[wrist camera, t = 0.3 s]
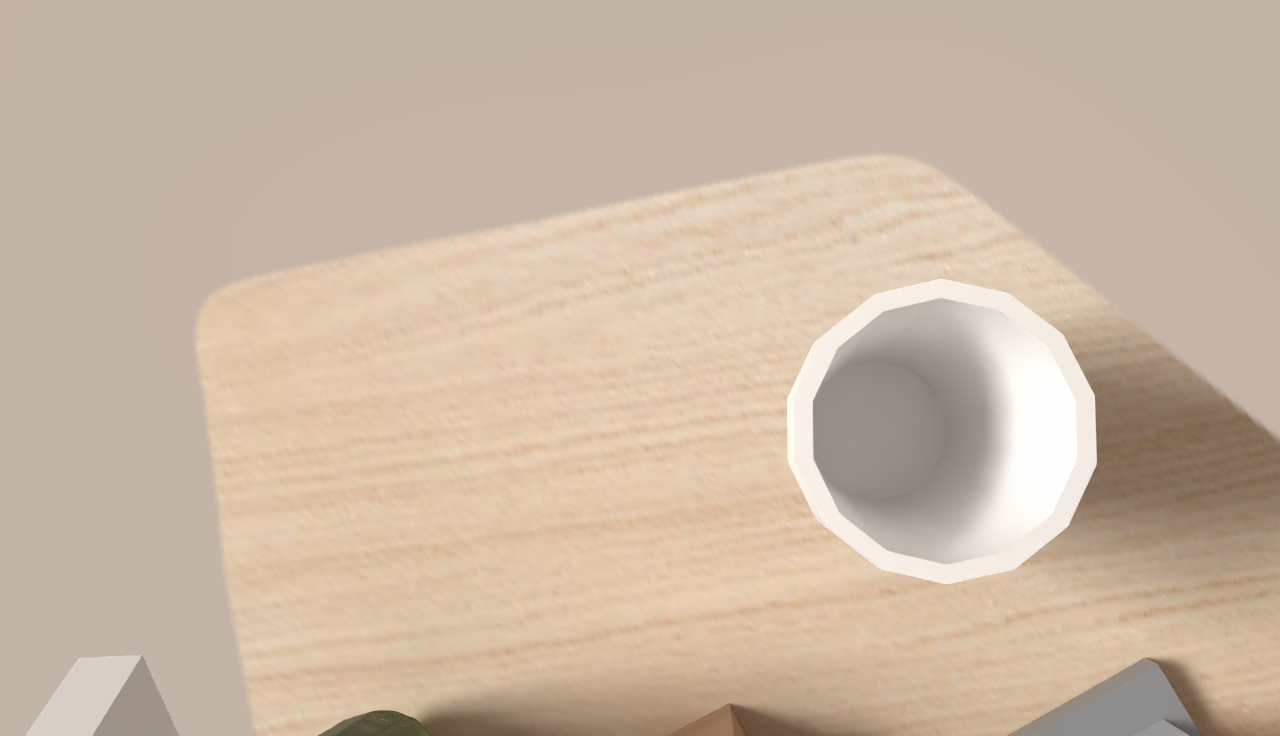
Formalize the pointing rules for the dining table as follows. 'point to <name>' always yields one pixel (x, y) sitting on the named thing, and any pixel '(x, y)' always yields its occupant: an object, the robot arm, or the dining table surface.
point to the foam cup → (942, 431)
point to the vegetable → (377, 725)
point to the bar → (714, 725)
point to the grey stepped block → (1120, 708)
